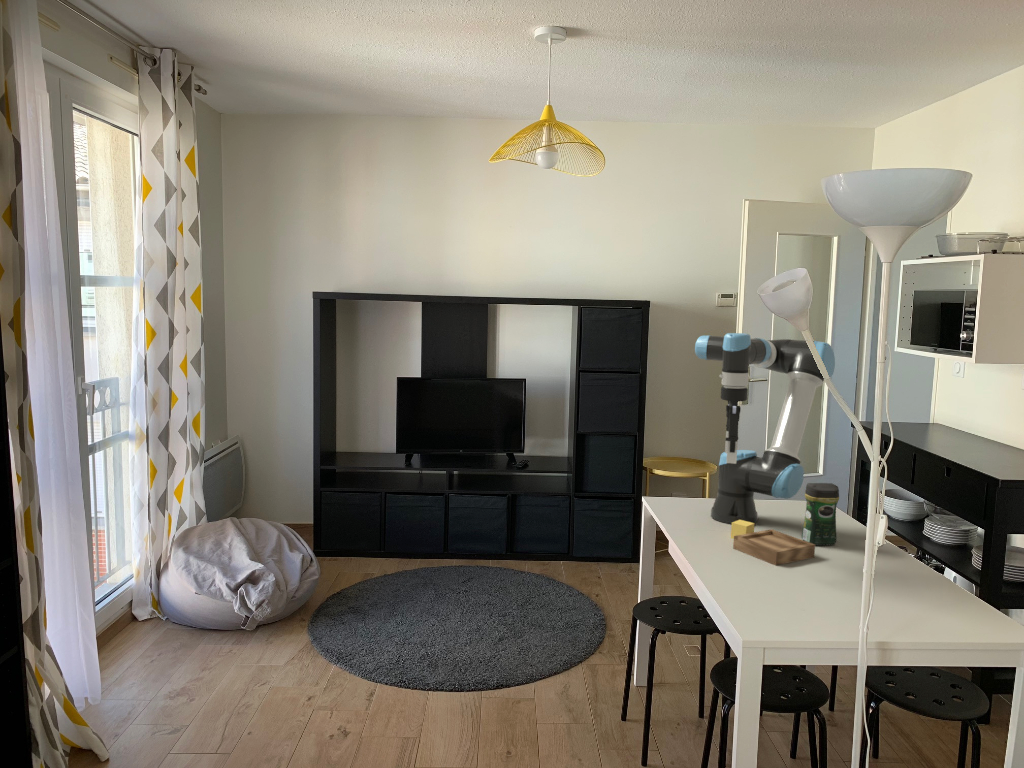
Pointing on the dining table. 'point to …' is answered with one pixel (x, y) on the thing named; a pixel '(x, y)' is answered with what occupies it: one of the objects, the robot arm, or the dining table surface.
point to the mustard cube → (741, 528)
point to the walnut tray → (774, 547)
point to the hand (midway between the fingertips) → (730, 458)
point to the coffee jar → (820, 513)
